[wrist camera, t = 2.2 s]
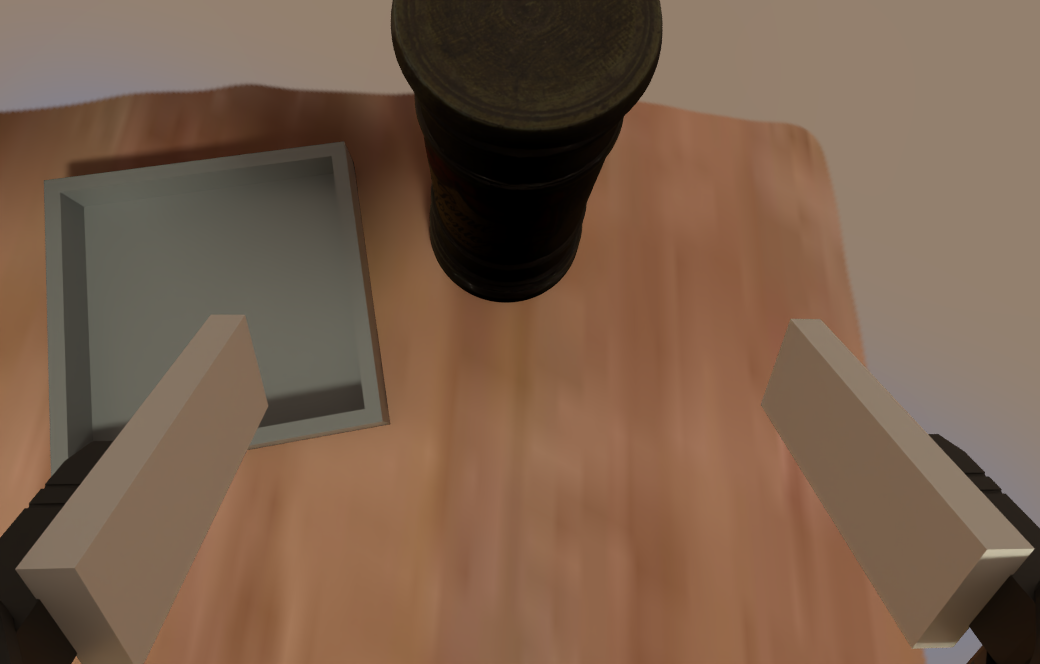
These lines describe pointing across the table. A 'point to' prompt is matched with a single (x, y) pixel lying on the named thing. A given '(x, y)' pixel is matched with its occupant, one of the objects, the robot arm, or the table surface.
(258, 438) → the tray
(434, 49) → the container
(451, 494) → the table surface
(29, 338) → the table surface
